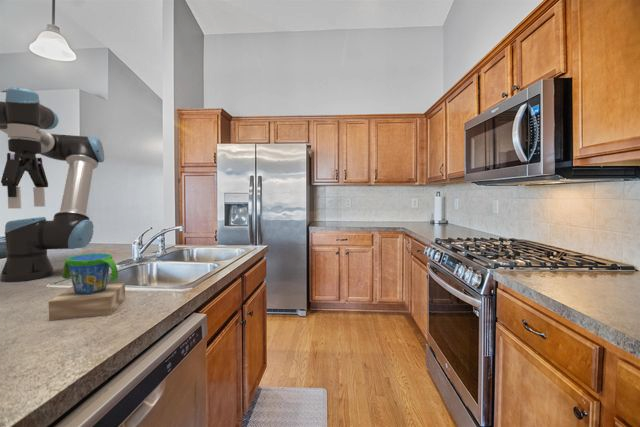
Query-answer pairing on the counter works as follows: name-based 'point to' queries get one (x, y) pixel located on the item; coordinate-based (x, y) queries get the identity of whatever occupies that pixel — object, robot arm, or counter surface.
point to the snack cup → (89, 272)
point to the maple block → (86, 303)
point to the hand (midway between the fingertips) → (28, 207)
